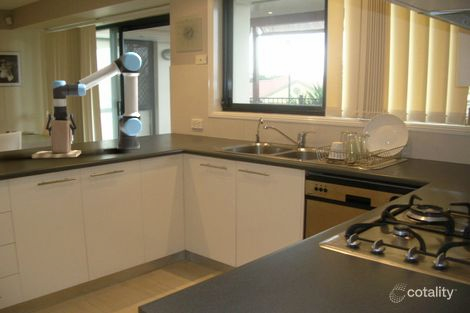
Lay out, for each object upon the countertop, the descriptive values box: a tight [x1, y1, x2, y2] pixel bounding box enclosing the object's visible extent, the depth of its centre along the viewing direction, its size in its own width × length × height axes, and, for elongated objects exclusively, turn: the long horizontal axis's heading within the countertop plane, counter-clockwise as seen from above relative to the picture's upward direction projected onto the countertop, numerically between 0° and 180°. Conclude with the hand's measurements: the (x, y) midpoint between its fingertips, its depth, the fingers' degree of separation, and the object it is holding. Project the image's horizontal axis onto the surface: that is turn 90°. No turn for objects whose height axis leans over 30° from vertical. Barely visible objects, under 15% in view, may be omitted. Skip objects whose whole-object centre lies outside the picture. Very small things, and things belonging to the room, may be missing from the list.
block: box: [50, 119, 72, 153], centre depth 285 cm, size 10×10×20 cm
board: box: [31, 149, 82, 159], centre depth 287 cm, size 26×16×2 cm, turn 99°
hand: (62, 140), depth 286 cm, fingers open, 11 cm apart
